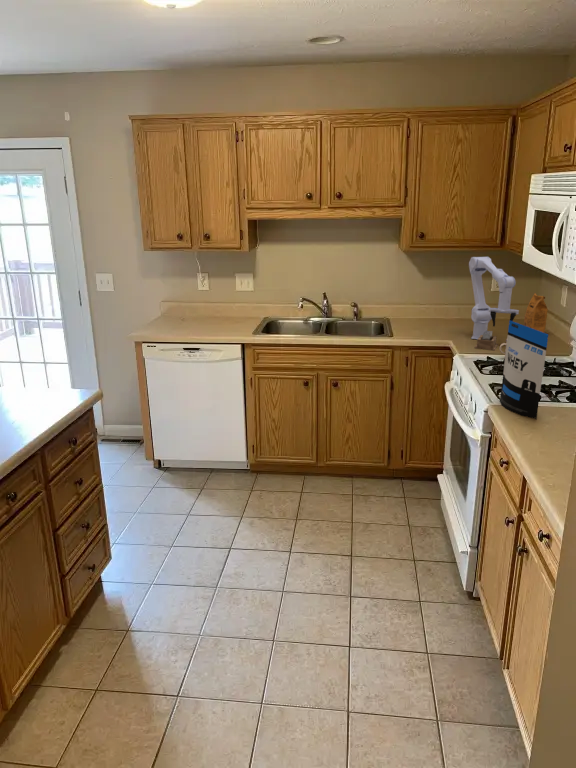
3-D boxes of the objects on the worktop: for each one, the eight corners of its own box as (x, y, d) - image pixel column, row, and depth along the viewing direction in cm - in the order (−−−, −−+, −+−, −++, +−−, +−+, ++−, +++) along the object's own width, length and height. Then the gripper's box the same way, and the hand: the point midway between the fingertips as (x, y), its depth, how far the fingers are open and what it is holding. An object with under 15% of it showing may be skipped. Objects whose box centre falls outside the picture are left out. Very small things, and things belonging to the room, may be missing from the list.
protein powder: (511, 396, 222) (521, 319, 213) (548, 418, 200) (561, 334, 191) (488, 397, 221) (497, 320, 212) (523, 420, 198) (535, 335, 189)
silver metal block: (483, 343, 303) (485, 330, 301) (490, 344, 302) (492, 331, 300) (481, 346, 296) (483, 333, 294) (488, 347, 295) (490, 334, 293)
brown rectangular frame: (478, 342, 307) (478, 334, 306) (497, 344, 303) (498, 336, 301) (474, 348, 296) (475, 339, 294) (494, 350, 292) (495, 341, 290)
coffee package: (537, 330, 337) (542, 292, 330) (546, 335, 325) (552, 296, 318) (520, 330, 337) (525, 292, 330) (528, 335, 325) (534, 296, 318)
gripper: (488, 300, 294) (486, 327, 298) (519, 302, 288) (515, 329, 292) (490, 298, 300) (487, 324, 304) (520, 300, 294) (517, 327, 298)
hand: (501, 326), depth 299 cm, fingers open, 7 cm apart
